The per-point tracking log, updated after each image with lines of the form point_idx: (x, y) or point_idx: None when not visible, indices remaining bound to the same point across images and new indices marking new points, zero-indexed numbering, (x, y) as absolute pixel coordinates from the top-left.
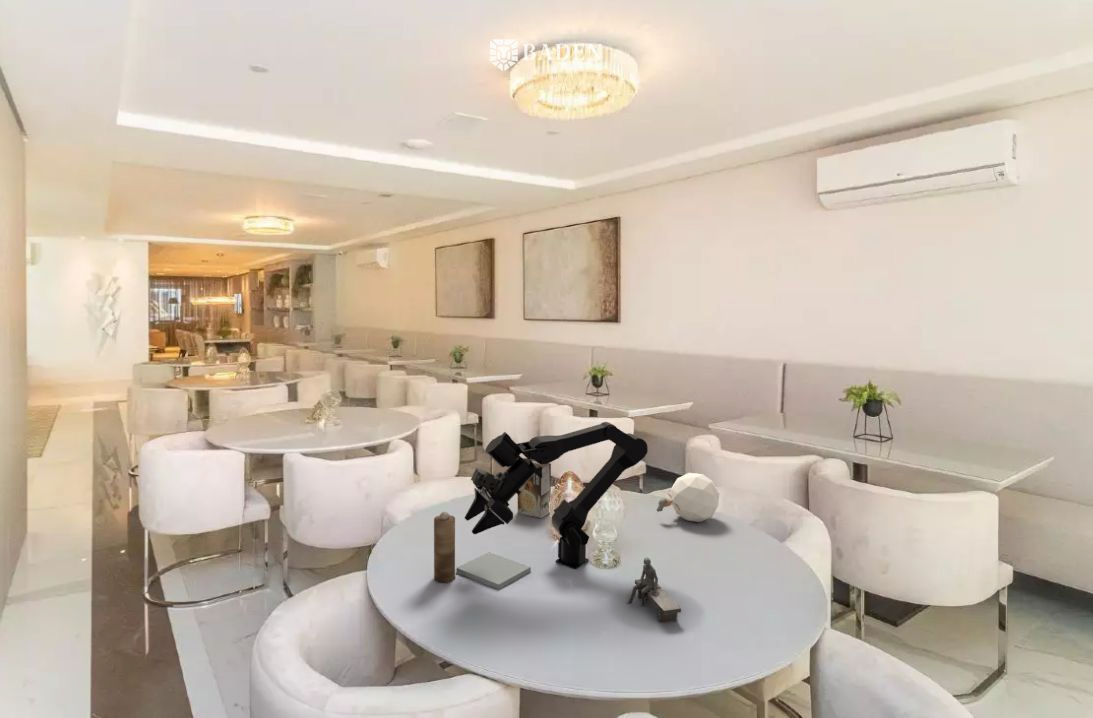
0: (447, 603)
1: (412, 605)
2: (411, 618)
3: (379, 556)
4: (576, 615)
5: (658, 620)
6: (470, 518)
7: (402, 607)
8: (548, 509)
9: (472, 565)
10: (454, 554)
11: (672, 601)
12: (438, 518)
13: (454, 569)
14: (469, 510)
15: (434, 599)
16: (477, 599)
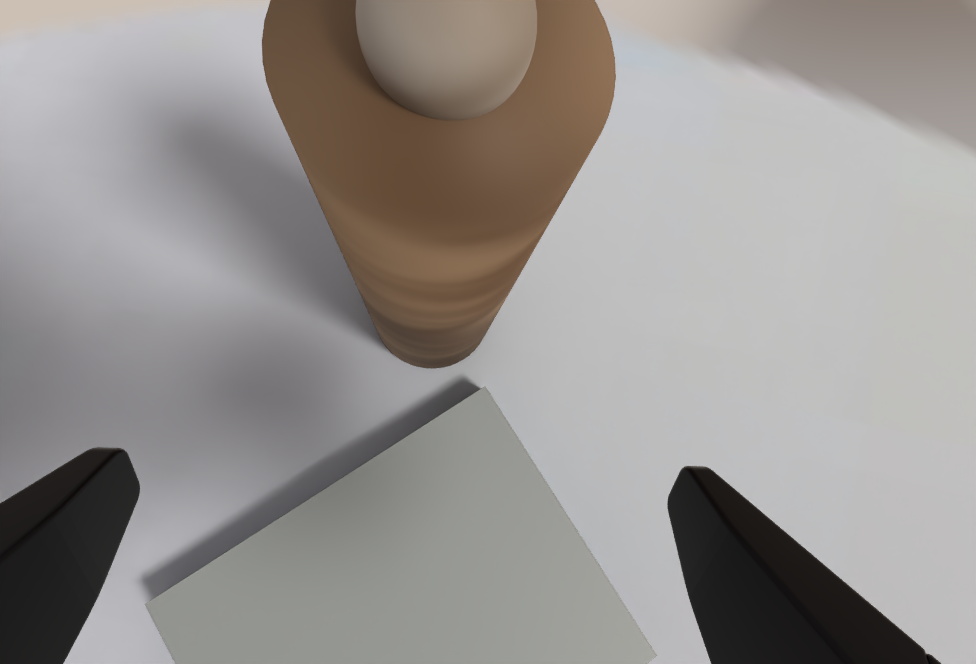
0: (133, 263)
1: (194, 106)
2: (65, 77)
3: (764, 72)
4: None
5: None
6: (682, 555)
7: (196, 63)
8: None
9: (485, 491)
10: (394, 329)
11: None
12: None
13: (399, 350)
14: (775, 572)
15: (209, 212)
16: (98, 430)
